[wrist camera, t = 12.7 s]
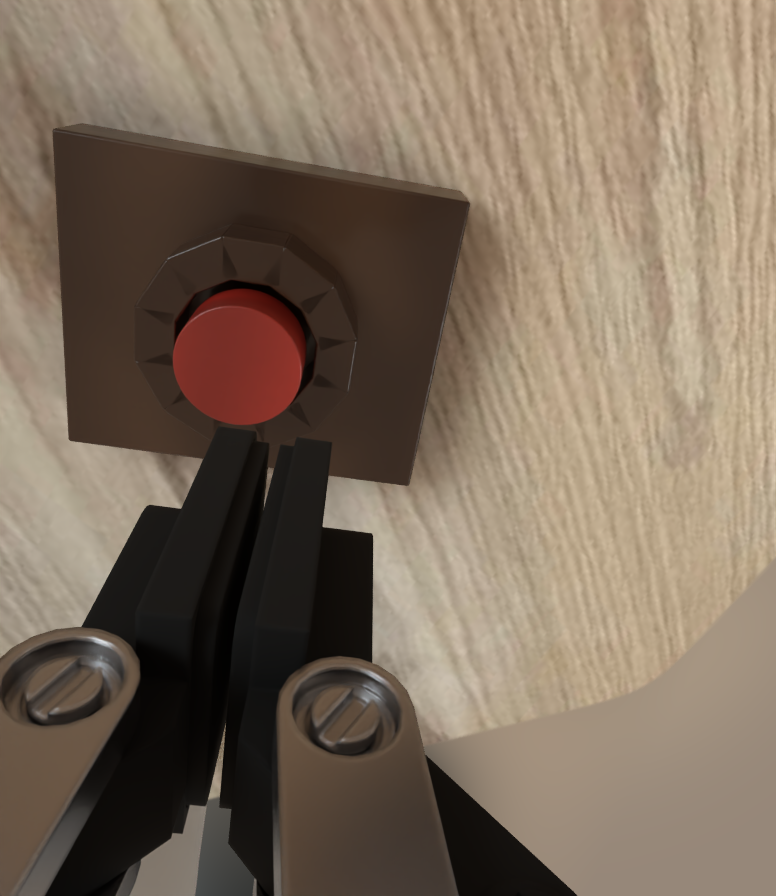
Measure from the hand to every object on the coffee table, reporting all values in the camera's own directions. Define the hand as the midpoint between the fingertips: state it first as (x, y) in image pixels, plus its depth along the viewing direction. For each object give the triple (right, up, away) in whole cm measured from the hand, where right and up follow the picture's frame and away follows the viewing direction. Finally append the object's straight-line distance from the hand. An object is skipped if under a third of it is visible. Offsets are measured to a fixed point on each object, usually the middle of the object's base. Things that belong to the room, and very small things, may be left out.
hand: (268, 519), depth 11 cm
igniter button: (-2, +4, +10) cm, 12 cm away
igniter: (-3, +6, +14) cm, 15 cm away
